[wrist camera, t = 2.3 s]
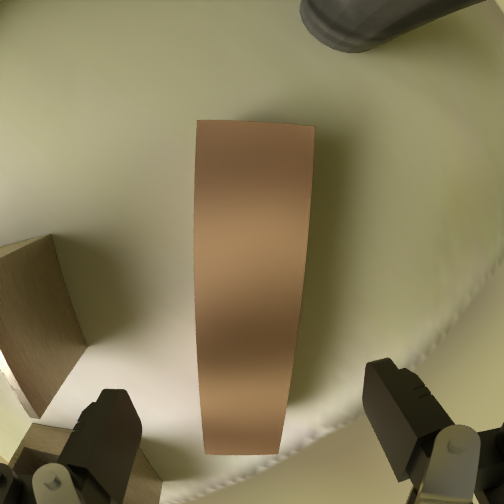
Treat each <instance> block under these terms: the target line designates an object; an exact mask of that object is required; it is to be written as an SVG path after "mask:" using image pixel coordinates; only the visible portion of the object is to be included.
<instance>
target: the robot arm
mask: <svg viewBox="0 0 504 504" xmlns="http://www.w3.org/2000/svg"><path fill="white" fill-rule="evenodd" d="M362 401H363V407H364V410H365V413H366V415H367V417H368V419H369V421H370V423H371V425H372V427H373V429H374V431H375V434H376V436H377V438H378V440H379V442H380V444H381V446H382V448H383V450H384V452H385V454H386V457H387V458H388V461H389V463H390V465H391V467H392V469H393V471H394V474H395V476H396V478H397V480H398V482H401V481H404V480H407V479H409V478H410V480H411V482H412V484H413V486H412V488H411V491H410V493H409V496H408V499H407V501H406V504H473V502H472V499H473V493H474V494H475V496H476V498H477V500H478V502H479V504H504V423H503V425H502V426H501V427H500V428H496V429H492V430H487V431H483V432H476V431H475V430H474V429H472V428H471V427H468V426H465V425H455V424H454V422H453V421H452V420H451V418H450V417H449V416H448V414H447V413H446V412H445V410H444V409H443V408H442V406H441V405H440V404H439V402H438V401H437V400H436V399H435V397H434V396H433V395H431V392H430V391H429V389H428V388H427V387H425V384H424V383H423V382H422V381H421V379H420V378H419V377H418V375H416V374H415V373H413V372H411V371H410V370H408V369H406V368H403V369H398V368H397V367H396V365H395V364H394V363H393V361H392V360H391V359H390V358H384V359H380V360H376V361H372V362H368V363H367V364H366V368H365V377H364V387H363V395H362ZM141 436H142V424H141V421H140V418H139V416H138V414H137V412H136V410H135V408H134V406H133V403H132V401H131V399H130V397H129V395H128V393H127V391H126V390H124V389H103V390H102V392H101V394H100V396H99V397H98V399H97V401H96V402H92V403H91V404H90V405H89V406H88V407H87V408H86V409H84V410H83V411H82V413H81V415H80V417H79V419H78V421H77V424H76V425H75V426H74V428H73V432H71V434H70V436H69V438H68V440H67V442H66V444H65V446H64V448H63V450H62V452H61V454H60V456H59V458H58V460H57V462H56V463H49V464H46V465H43V466H41V467H40V468H39V469H38V470H37V471H36V472H35V473H34V475H16V474H15V473H14V471H13V470H12V469H11V468H10V467H9V466H8V465H6V464H3V463H0V504H123V500H124V496H125V492H126V489H127V485H128V481H129V478H130V474H131V471H132V467H133V464H134V460H135V457H136V453H137V450H138V446H139V443H140V440H141Z"/></svg>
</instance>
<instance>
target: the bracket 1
mask: <svg viewBox="0 0 504 504" xmlns="http://www.w3.org/2000/svg"><path fill="white" fill-rule="evenodd" d="M86 349H87V345H86V342H85V340H84V337H83V335H82V332H81V330H80V327H79V325H78V322H77V319H76V316H75V314H74V311H73V308H72V305H71V302H70V299H69V296H68V293H67V290H66V287H65V284H64V281H63V277H62V274H61V271H60V267H59V264H58V260H57V256H56V253H55V249H54V245H53V241H52V237H51V234H49V235H44V236H40V237H36V238H33V239H29V240H25V241H21V242H17V243H13V244H10V245H6V246H2V247H0V371H2V372H3V374H4V375H5V377H6V379H7V381H8V383H9V384H10V386H11V388H12V390H13V391H14V393H15V395H16V396H17V398H18V400H19V401H20V403H21V404H22V406H23V408H24V409H25V411H26V412H27V414H28V415H29V417H31V418H36V419H40V418H41V416H42V415H43V413H44V412H45V410H46V408H47V407H48V405H49V404H50V402H51V401H52V399H53V398H54V396H55V394H56V393H57V391H58V390H59V388H60V387H61V385H62V384H63V382H64V381H65V379H66V378H67V376H68V375H69V373H70V372H71V370H72V369H73V367H74V366H75V365H76V363H77V362H78V360H79V359H80V357H81V356H82V354H83V353H84V352H85V350H86Z"/></svg>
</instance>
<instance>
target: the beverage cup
mask: <svg viewBox="0 0 504 504" xmlns="http://www.w3.org/2000/svg"><path fill="white" fill-rule="evenodd" d="M483 1H486V0H301V5H300V14H301V18H302V21H303V23H304V25H305V26H306V28H307V29H308V31H309V32H310V33H311V34H312V35H313V36H314V37H315V38H316V39H318V40H319V41H320V42H321V43H323V44H325V45H327V46H329V47H331V48H332V49H335V50H339V51H343V52H346V53H360V52H363V51H366V50H370V49H371V48H372V47H374V46H377V45H380V44H384V43H386V42H388V41H390V40H392V39H394V38H396V37H398V36H400V35H402V34H404V33H407V32H409V31H411V30H413V29H415V28H417V27H420V26H422V25H424V24H426V23H429V22H431V21H433V20H436V19H438V18H440V17H443V16H445V15H448V14H450V13H453V12H455V11H458V10H460V9H463V8H466V7H469V6H471V5H474V4H477V3H480V2H483Z"/></svg>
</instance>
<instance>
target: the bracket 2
mask: <svg viewBox="0 0 504 504" xmlns="http://www.w3.org/2000/svg"><path fill="white" fill-rule="evenodd" d="M71 432H73V430H69V429H62V428H56V427H50V426H45V425H39V424H34V423H32V425H31V426H30V428H29V430H28V431H27V433H26V435H25V436H24V438H23V440H22V441H21V443H20V445H19V446H18V448H17V450H16V452H15V453H14V455H13V457H12V459H11V460H10V462H9V464H8V466H9V467H10V468H11V469H12V470H13V471H14V473H15V474H16V475H34V473H35V472H36V471H37V470H38V469H39V468H40V467H41V466H43V465H46V464H49V463H56V462H57V460H58V458H59V456H60V454H61V452H62V450H63V448H64V446H65V444H66V442H67V440H68V438H69V436H70V434H71ZM161 488H162V481H161V479H160V478H159V476H158V475H157V474H156V472H155V471H154V469H153V468H152V466H151V465H150V463H149V462H148V460H147V459H146V457H145V456H144V454H143V453H142V451H141V449H140V448H139V446H138V450H137V453H136V457H135V460H134V464H133V467H132V471H131V474H130V478H129V481H128V485H127V489H126V492H125V496H124V500H123V504H159V500H160V494H161Z"/></svg>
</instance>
